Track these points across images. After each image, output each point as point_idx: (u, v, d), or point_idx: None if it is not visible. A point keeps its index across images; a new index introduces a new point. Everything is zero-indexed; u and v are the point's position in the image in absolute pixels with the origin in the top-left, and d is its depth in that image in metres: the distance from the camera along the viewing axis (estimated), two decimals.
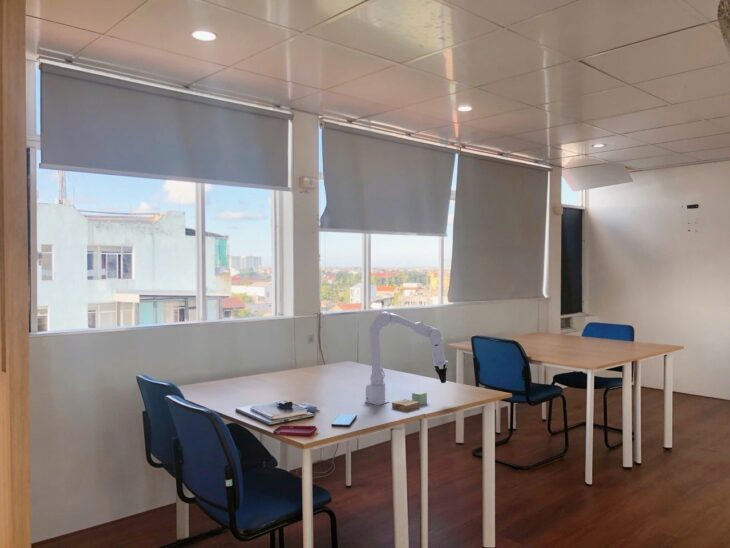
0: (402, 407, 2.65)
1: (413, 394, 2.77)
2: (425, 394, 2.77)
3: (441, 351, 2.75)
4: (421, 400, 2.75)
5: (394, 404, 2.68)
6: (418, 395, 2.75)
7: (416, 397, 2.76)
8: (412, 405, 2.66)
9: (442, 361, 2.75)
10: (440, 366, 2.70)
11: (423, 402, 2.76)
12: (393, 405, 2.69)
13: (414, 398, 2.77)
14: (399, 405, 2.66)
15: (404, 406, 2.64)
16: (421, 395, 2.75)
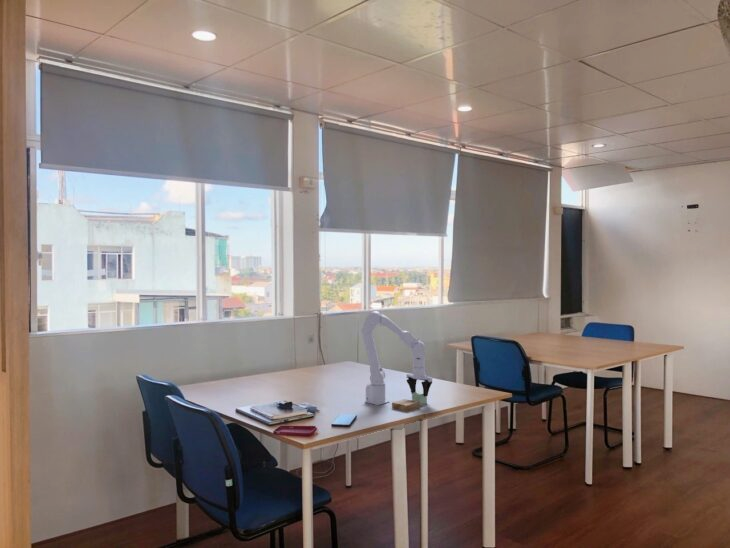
0: (402, 407, 2.65)
1: (413, 394, 2.77)
2: None
3: (422, 365, 2.75)
4: (421, 400, 2.75)
5: (394, 404, 2.68)
6: (418, 395, 2.75)
7: (416, 397, 2.76)
8: (412, 405, 2.66)
9: (424, 374, 2.77)
10: (430, 379, 2.72)
11: (423, 402, 2.76)
12: (393, 405, 2.69)
13: (414, 398, 2.77)
14: (399, 405, 2.66)
15: (404, 406, 2.64)
16: (421, 395, 2.75)
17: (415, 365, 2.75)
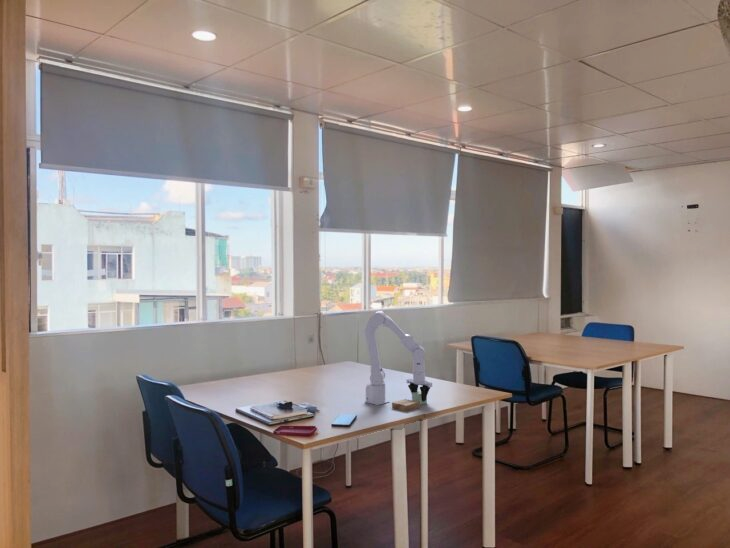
0: (402, 407, 2.65)
1: (413, 394, 2.77)
2: None
3: (422, 370, 2.75)
4: (421, 400, 2.75)
5: (394, 404, 2.68)
6: (418, 395, 2.75)
7: (416, 397, 2.76)
8: (412, 405, 2.66)
9: (424, 380, 2.77)
10: (430, 384, 2.72)
11: (423, 402, 2.76)
12: (393, 405, 2.69)
13: (414, 398, 2.77)
14: (399, 405, 2.66)
15: (404, 406, 2.64)
16: (421, 395, 2.75)
17: (415, 370, 2.75)
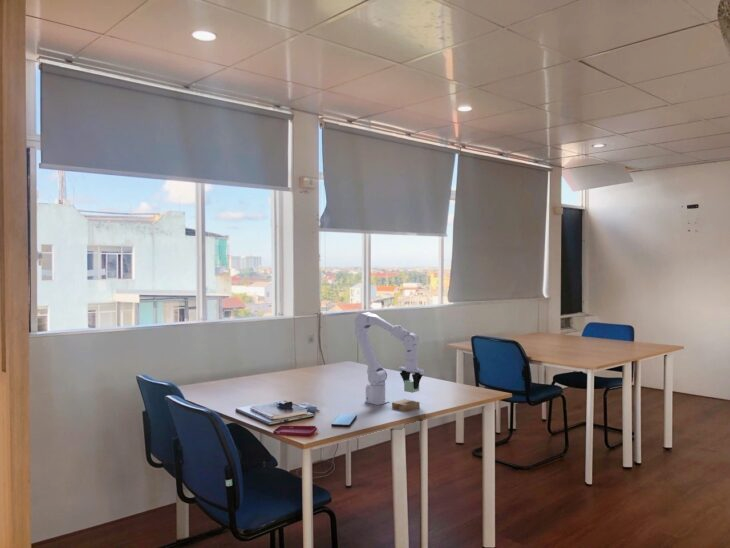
0: (402, 407, 2.65)
1: (405, 382, 2.72)
2: None
3: (412, 358, 2.70)
4: (413, 388, 2.70)
5: (394, 404, 2.68)
6: (410, 383, 2.70)
7: (409, 385, 2.71)
8: (412, 405, 2.66)
9: (417, 367, 2.72)
10: (423, 371, 2.67)
11: (415, 390, 2.71)
12: (393, 405, 2.69)
13: (406, 386, 2.72)
14: (399, 405, 2.66)
15: (404, 406, 2.64)
16: (413, 382, 2.70)
17: (406, 357, 2.71)
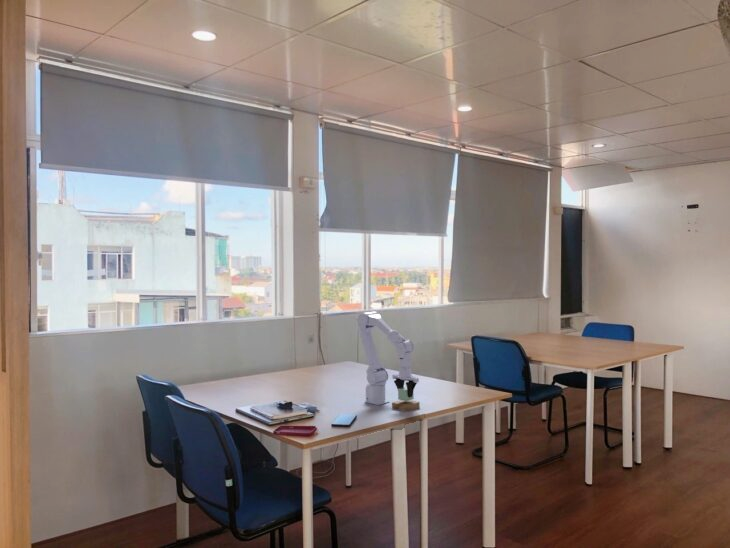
0: (402, 407, 2.65)
1: (399, 390, 2.69)
2: None
3: (405, 366, 2.66)
4: (407, 396, 2.67)
5: (394, 404, 2.68)
6: (404, 391, 2.66)
7: (403, 393, 2.67)
8: (412, 405, 2.66)
9: (411, 375, 2.68)
10: (416, 380, 2.64)
11: (409, 398, 2.68)
12: (393, 405, 2.69)
13: (400, 394, 2.68)
14: (399, 405, 2.66)
15: (404, 406, 2.64)
16: (407, 391, 2.67)
17: (399, 365, 2.68)
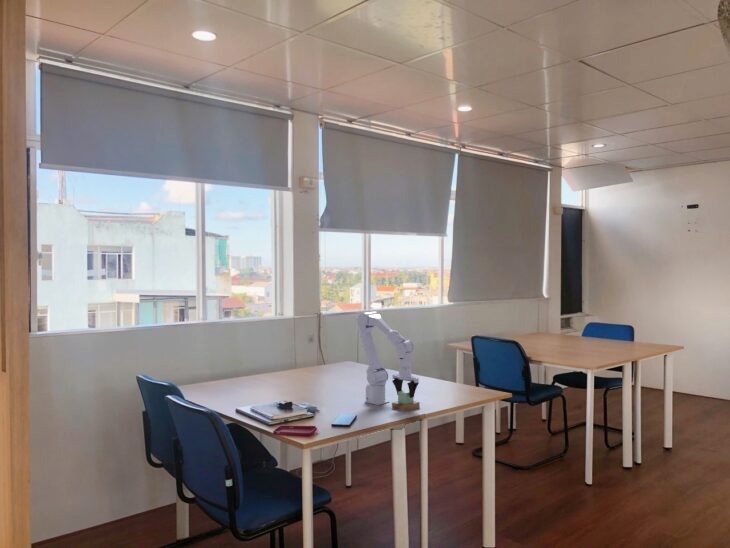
0: (402, 407, 2.65)
1: (399, 393, 2.69)
2: None
3: (405, 366, 2.66)
4: (407, 399, 2.67)
5: (394, 404, 2.68)
6: (404, 394, 2.66)
7: (402, 396, 2.67)
8: (412, 405, 2.66)
9: (411, 375, 2.68)
10: (416, 380, 2.64)
11: (409, 401, 2.68)
12: (393, 405, 2.69)
13: (400, 397, 2.68)
14: (399, 405, 2.66)
15: (404, 406, 2.64)
16: (407, 394, 2.67)
17: (399, 365, 2.68)
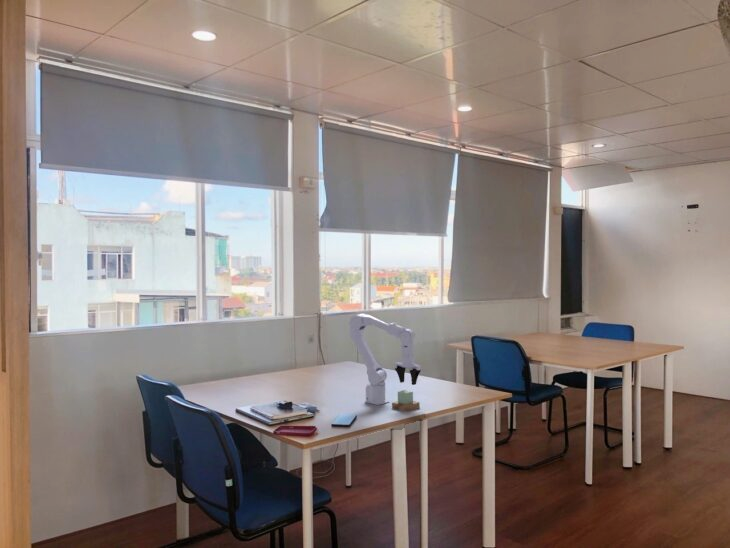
0: (402, 407, 2.65)
1: (399, 393, 2.69)
2: (411, 393, 2.69)
3: (409, 353, 2.72)
4: (407, 399, 2.67)
5: (394, 404, 2.68)
6: (404, 394, 2.66)
7: (402, 396, 2.67)
8: (412, 405, 2.66)
9: (413, 363, 2.73)
10: (418, 367, 2.69)
11: (409, 401, 2.68)
12: (393, 405, 2.69)
13: (400, 397, 2.68)
14: (399, 405, 2.66)
15: (404, 406, 2.64)
16: (407, 394, 2.67)
17: (402, 353, 2.73)
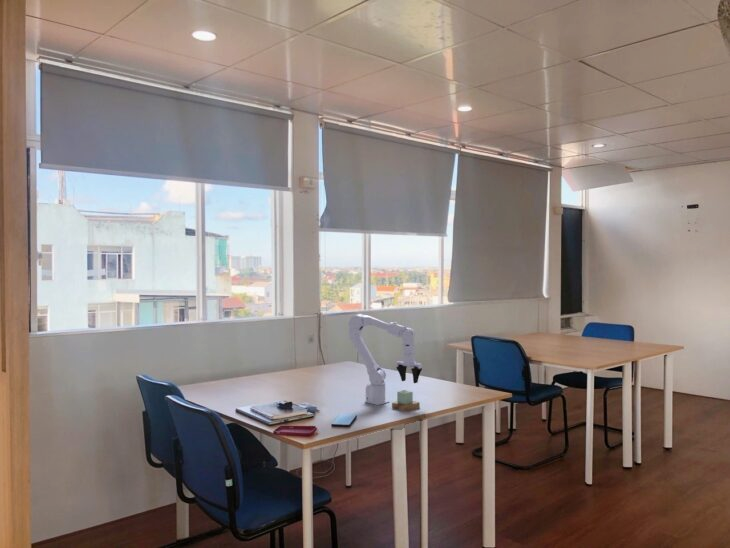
0: (402, 407, 2.65)
1: (398, 393, 2.68)
2: (411, 393, 2.68)
3: (411, 352, 2.74)
4: (406, 399, 2.66)
5: (394, 404, 2.68)
6: (403, 394, 2.66)
7: (402, 396, 2.67)
8: (412, 405, 2.66)
9: (414, 361, 2.76)
10: (420, 365, 2.71)
11: (409, 401, 2.67)
12: (393, 405, 2.69)
13: (399, 397, 2.68)
14: (399, 405, 2.66)
15: (404, 406, 2.64)
16: (406, 394, 2.66)
17: (404, 352, 2.75)
